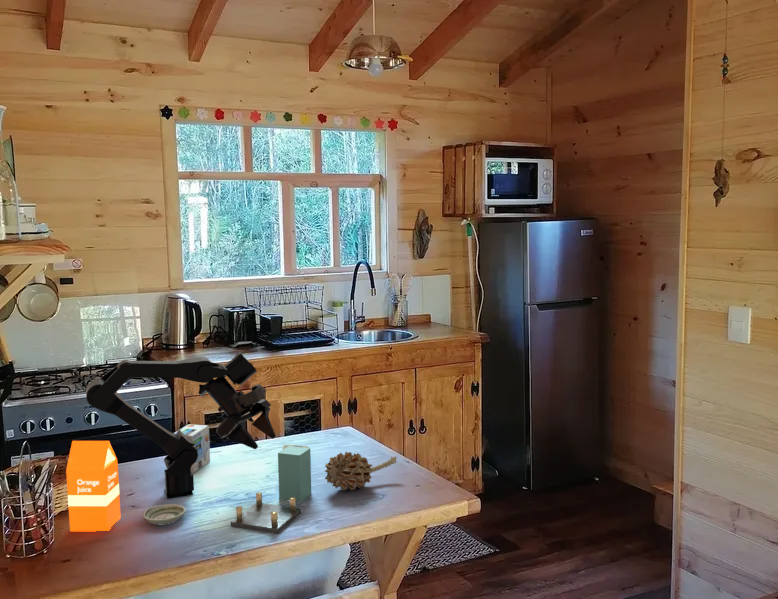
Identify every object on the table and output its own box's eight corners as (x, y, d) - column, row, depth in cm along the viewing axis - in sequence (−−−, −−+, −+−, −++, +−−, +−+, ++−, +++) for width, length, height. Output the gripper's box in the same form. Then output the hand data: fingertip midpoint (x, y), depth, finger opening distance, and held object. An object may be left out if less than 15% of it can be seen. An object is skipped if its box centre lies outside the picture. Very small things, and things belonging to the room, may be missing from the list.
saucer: (187, 511, 181) (186, 501, 181) (185, 527, 171) (184, 517, 171) (145, 515, 179) (145, 505, 179) (141, 531, 169) (140, 521, 169)
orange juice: (84, 517, 177) (79, 435, 175) (121, 517, 177) (116, 435, 175) (69, 531, 169) (63, 446, 167) (107, 531, 169) (102, 446, 167)
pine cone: (338, 502, 185) (337, 463, 184) (316, 491, 193) (316, 453, 191) (406, 480, 199) (405, 444, 198) (383, 471, 206) (383, 436, 205)
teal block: (300, 502, 185) (299, 455, 184) (279, 499, 187) (277, 452, 186) (311, 493, 191) (310, 448, 189) (290, 490, 193) (289, 445, 191)
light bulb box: (194, 473, 206) (192, 435, 205) (172, 472, 208) (170, 434, 207) (211, 460, 217) (209, 424, 216) (189, 459, 218) (188, 423, 217)
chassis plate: (277, 533, 167) (276, 515, 167) (230, 526, 171) (230, 509, 171) (301, 513, 178) (301, 496, 178) (257, 507, 182) (256, 490, 182)
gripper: (225, 385, 181) (267, 433, 179) (263, 369, 199) (301, 413, 196) (198, 414, 185) (239, 461, 182) (238, 396, 202) (275, 439, 200)
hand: (265, 442), depth 190 cm, fingers open, 9 cm apart
